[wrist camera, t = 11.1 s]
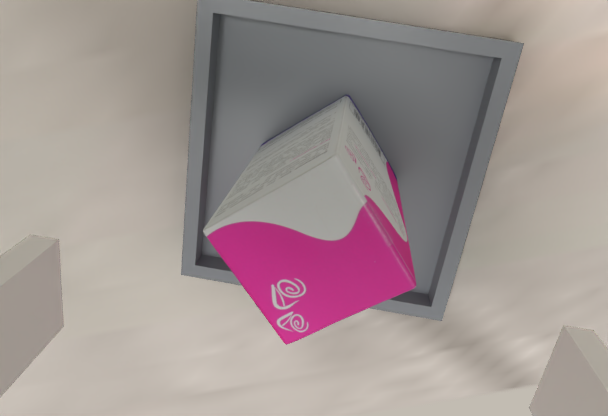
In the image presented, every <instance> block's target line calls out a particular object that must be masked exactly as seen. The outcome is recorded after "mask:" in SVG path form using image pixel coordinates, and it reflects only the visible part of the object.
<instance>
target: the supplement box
mask: <svg viewBox="0 0 608 416" xmlns="http://www.w3.org/2000/svg"><path fill="white" fill-rule="evenodd" d="M203 232H204V234H205V236H206V237H207V238H208V239H209V241H210V242H211V244H212V245H213V247H214V248H215V249H216V251H217V252H218V253H219V255H220V256H221V257H222V259H223V260H224V261H225V263H226V264H227V265H228V267H229V268H230V270H231V271H232V272H233V274H234V275H235V276H236V278H237V279H238V280H239V282H240V283H241V285H242V286H243V287H244V289H245V290H246V291H247V293H248V294H249V295H250V297H251V298H252V299H253V301H254V302H255V304H256V305H257V306H258V308H259V309H260V310H261V312H262V313H263V314H264V316H265V317H266V319H267V320H268V321H269V323H270V324H271V325H272V327H273V328H274V330H275V331H276V332H277V334H278V335H279V336H280V338H281V339H282V340H283V342H284V343H285V344H286V345H287V344H290V343H292V342H295V341H297V340H299V339H301V338H304V337H306V336H308V335H310V334H312V333H315V332H317V331H319V330H321V329H323V328H325V327H327V326H329V325H331V324H333V323H335V322H338V321H340V320H342V319H344V318H347V317H349V316H351V315H354V314H356V313H358V312H361V311H363V310H365V309H368V308H370V307H372V306H374V305H377V304H379V303H381V302H384V301H386V300H388V299H391V298H393V297H396V296H398V295H400V294H402V293H405V292H407V291H409V290H411V289H414V288H415V287H416V279H415V273H414V268H413V262H412V257H411V251H410V246H409V241H408V236H407V231H406V226H405V221H404V215H403V210H402V205H401V199H400V193H399V189H398V183H397V178H396V175H395V173H394V171H393V169H392V167H391V166H390V164H389V162H388V160H387V158H386V156H385V155H384V153H383V151H382V149H381V148H380V146H379V144H378V142H377V141H376V139H375V137H374V135H373V134H372V132H371V130H370V128H369V127H368V125H367V123H366V122H365V120H364V118H363V117H362V115H361V113H360V112H359V110H358V108H357V107H356V105H355V103H354V102H353V100H352V98H351V97H350V95H349V94H346V95H345V96H343V97H341V98H339V99H338V100H336V101H334V102H333V103H331V104H329V105H327V106H326V107H324V108H322V109H321V110H319V111H317V112H315V113H314V114H312V115H310V116H309V117H307V118H305V119H303V120H302V121H300V122H298V123H297V124H295V125H293V126H292V127H290V128H288V129H287V130H285V131H283V132H282V133H280V134H278V135H276V136H275V137H273V138H271V139H270V140H268V141H266V142H265V143H263V144H262V145H261V146H260V148H259V150H258V151H257V152H256V154H255V155H254V157H253V159H252V160H251V162H250V163H249V164H248V166H247V167H246V168H245V170H244V171H243V173H242V174H241V176H240V177H239V179H238V180H237V181H236V183H235V184H234V186H233V187H232V189H231V190H230V192H229V193H228V194H227V196H226V197H225V199H224V200H223V202H222V203H221V205H220V206H219V207H218V209H217V210H216V212H215V213H214V215H213V216H212V217H211V219H210V220H209V222H208V223H207V225H206V226H205V228H204V229H203Z"/></svg>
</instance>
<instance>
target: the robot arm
mask: <svg viewBox="0 0 608 416" xmlns="http://www.w3.org/2000/svg"><path fill="white" fill-rule="evenodd" d="M63 327H64V324H63V305H62V287H61V268H60V249H59V239H54V238H48V237H42V236H36V235H29V236H28V237H26V238H25V239H23V240H22V241H21V242H19V243H18V244H16V245H15V246H14V247H12V248H11V249H10V250H8V251H7V252H5V253H4V254H3V255H1V256H0V397H1V396H2V395H3V394H4V393H5V392H6V391H7V389H8V388H9V387H10V386H11V385H12V384H13V383H14V382H15V380H16V379H17V378H18V377H19V376H20V375H21V374H22V373H23V371H24V370H25V369H26V368H27V367H28V366H29V365H30V364H31V362H32V361H33V360H34V359H35V358H36V357H37V356H38V355H39V353H40V352H41V351H42V350H43V349H44V348H45V347H46V346H47V344H48V343H49V342H50V341H51V340H52V339H53V338H54V337H55V336H56V334H57V333H58V332H59V331H60V330H61V329H62V328H63ZM529 408H530V411H531V413H532V415H533V416H608V349H607V347H606V346H605V345H604V343H603V342H602V341H601V339H600V338H599V337H598V335H597V334H596V333H595V331H594V330H588V329H583V328H577V327H571V326H565V325H563V328H562V330H561V333H560V335H559V337H558V340H557V342H556V345H555V347H554V349H553V352H552V354H551V357H550V359H549V361H548V364H547V366H546V368H545V371H544V373H543V376H542V378H541V380H540V383H539V385H538V388H537V390H536V392H535V395H534V397H533V400H532V402H531V404H530V407H529Z"/></svg>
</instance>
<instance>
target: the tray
mask: <svg viewBox="0 0 608 416" xmlns="http://www.w3.org/2000/svg"><path fill="white" fill-rule="evenodd" d="M523 45H524V43H519V42H513V41H507V40H501V39H494V38H488V37H482V36H475V35H469V34H462V33H456V32H450V31H443V30H437V29H430V28H424V27H418V26H411V25H405V24H399V23H392V22H386V21H379V20H373V19H367V18H360V17H354V16H347V15H341V14H335V13H328V12H322V11H315V10H309V9H303V8H296V7H290V6H284V5H277V4H271V3H264V2H258V1H252V0H197V15H196V32H195V49H194V66H193V83H192V100H191V117H190V134H189V150H188V167H187V184H186V201H185V218H184V235H183V252H182V269H181V275H186V276H191V277H197V278H203V279H208V280H214V281H219V282H225V283H231V284H236V285H241V283H240V282H239V280H238V279H237V278H236V276H235V275H234V274H233V272H232V271H231V270H230V268H229V267H228V265H227V264H226V263H225V261H224V260H223V259H222V257H221V256H220V255H219V253H218V252H217V251H216V249H215V248H214V247H213V245H212V244H211V242H210V241H209V239H208V238H207V237H206V236H205V234H204V232H203V229H204V228H205V226H206V225H207V223H208V222H209V220H210V219H211V217H212V216H213V215H214V213H215V212H216V210H217V209H218V207H219V206H220V205H221V203H222V202H223V200H224V199H225V197H226V196H227V194H228V193H229V192H230V190H231V189H232V187H233V186H234V184H235V183H236V181H237V180H238V179H239V177H240V176H241V174H242V173H243V171H244V170H245V168H246V167H247V166H248V164H249V163H250V162H251V160H252V159H253V157H254V155H255V154H256V152H257V151H258V150H259V148H260V146H261V145H262V144H263V143H265V142H266V141H268V140H270V139H271V138H273V137H275V136H276V135H278V134H280V133H282V132H283V131H285V130H287V129H288V128H290V127H292V126H293V125H295V124H297V123H298V122H300V121H302V120H303V119H305V118H307V117H309V116H310V115H312V114H314V113H315V112H317V111H319V110H321V109H322V108H324V107H326V106H327V105H329V104H331V103H333V102H334V101H336V100H338V99H339V98H341V97H343V96H345V95H346V94H349V95H350V97H351V98H352V100H353V102H354V103H355V105H356V107H357V108H358V110H359V112H360V113H361V115H362V117H363V118H364V120H365V122H366V123H367V125H368V127H369V128H370V130H371V132H372V134H373V135H374V137H375V139H376V141H377V142H378V144H379V146H380V148H381V149H382V151H383V153H384V155H385V156H386V158H387V160H388V162H389V164H390V166H391V167H392V169H393V171H394V173H395V175H396V178H397V183H398V189H399V193H400V199H401V205H402V210H403V215H404V221H405V226H406V231H407V236H408V241H409V246H410V251H411V257H412V262H413V268H414V273H415V279H416V287H415V288H414V289H411V290H409V291H407V292H405V293H402V294H400V295H398V296H396V297H393V298H391V299H388V300H386V301H384V302H381V303H379V304H377V305H374V306H372V307H370V308H371V309H377V310H383V311H388V312H394V313H400V314H405V315H411V316H416V317H422V318H428V319H433V320H439V321H442V318H443V315H444V312H445V308H446V305H447V302H448V298H449V295H450V291H451V288H452V285H453V281H454V278H455V274H456V271H457V268H458V264H459V261H460V258H461V254H462V251H463V247H464V244H465V241H466V237H467V234H468V231H469V227H470V224H471V220H472V217H473V214H474V210H475V207H476V204H477V200H478V197H479V193H480V190H481V187H482V183H483V180H484V176H485V173H486V170H487V166H488V163H489V160H490V156H491V153H492V149H493V146H494V143H495V139H496V136H497V133H498V129H499V126H500V122H501V119H502V116H503V112H504V109H505V105H506V102H507V99H508V95H509V92H510V89H511V85H512V82H513V78H514V75H515V72H516V68H517V65H518V62H519V58H520V55H521V51H522V48H523Z"/></svg>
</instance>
